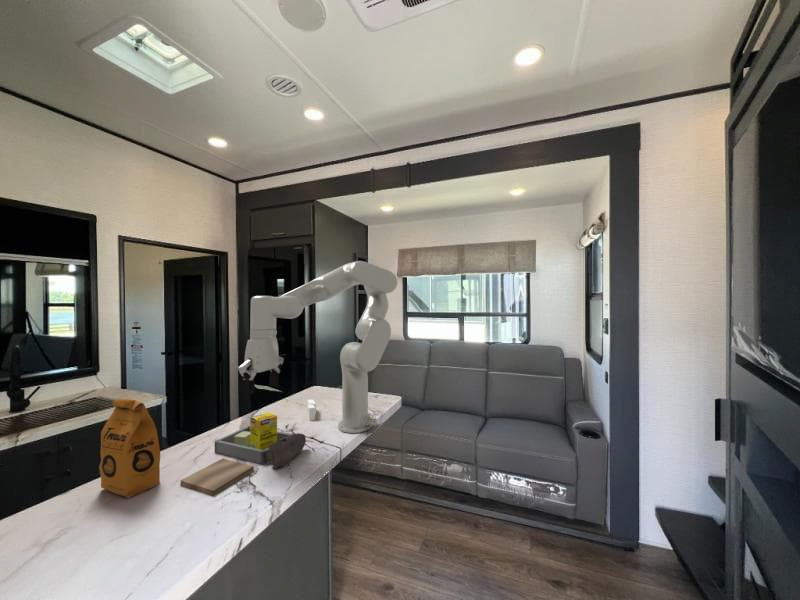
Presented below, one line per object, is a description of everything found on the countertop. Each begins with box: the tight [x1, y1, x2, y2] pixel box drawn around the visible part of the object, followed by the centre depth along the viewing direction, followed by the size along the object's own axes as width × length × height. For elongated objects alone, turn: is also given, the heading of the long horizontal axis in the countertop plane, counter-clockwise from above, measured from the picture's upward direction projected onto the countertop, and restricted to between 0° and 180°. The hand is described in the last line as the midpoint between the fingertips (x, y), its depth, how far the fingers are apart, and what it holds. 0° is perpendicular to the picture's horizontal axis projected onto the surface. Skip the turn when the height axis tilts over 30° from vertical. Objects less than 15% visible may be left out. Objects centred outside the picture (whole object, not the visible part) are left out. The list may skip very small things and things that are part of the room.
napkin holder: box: [306, 399, 317, 421], centre depth 128 cm, size 15×11×6 cm
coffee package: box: [98, 397, 161, 499], centre depth 79 cm, size 10×12×22 cm
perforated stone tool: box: [269, 433, 307, 469], centre depth 92 cm, size 15×5×7 cm, turn 157°
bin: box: [214, 425, 294, 465], centre depth 99 cm, size 20×13×4 cm, turn 68°
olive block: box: [234, 431, 250, 447], centre depth 101 cm, size 4×4×4 cm
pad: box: [180, 458, 255, 497], centre depth 83 cm, size 12×12×1 cm
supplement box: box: [249, 411, 278, 450], centre depth 98 cm, size 6×6×11 cm
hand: (262, 389), depth 98 cm, fingers open, 9 cm apart
